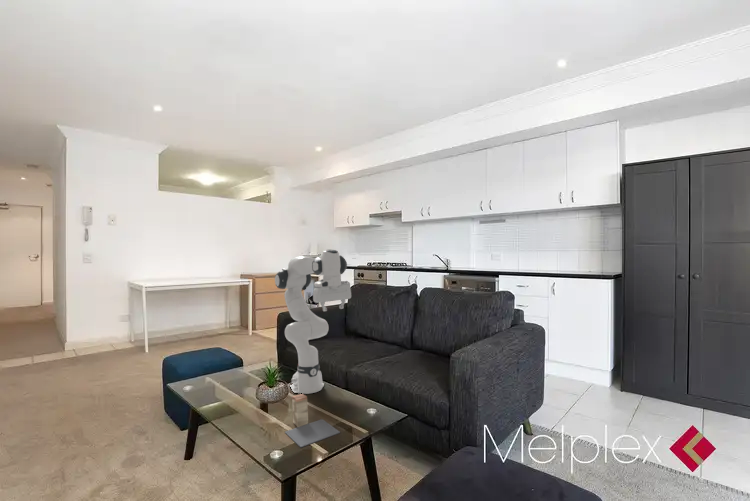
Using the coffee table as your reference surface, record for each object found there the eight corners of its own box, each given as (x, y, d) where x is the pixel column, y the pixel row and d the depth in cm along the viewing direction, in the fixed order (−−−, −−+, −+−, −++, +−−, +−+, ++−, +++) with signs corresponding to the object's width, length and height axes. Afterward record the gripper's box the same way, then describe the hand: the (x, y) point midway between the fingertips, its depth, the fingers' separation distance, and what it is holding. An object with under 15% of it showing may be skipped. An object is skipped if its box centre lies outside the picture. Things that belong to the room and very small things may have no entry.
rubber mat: (284, 432, 156) (284, 431, 156) (322, 419, 167) (322, 419, 167) (300, 447, 143) (300, 446, 143) (340, 432, 154) (340, 431, 154)
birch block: (293, 423, 165) (292, 396, 165) (303, 419, 168) (302, 393, 168) (297, 427, 161) (296, 399, 161) (308, 423, 164) (307, 396, 164)
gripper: (346, 280, 191) (347, 306, 191) (311, 283, 179) (312, 311, 179) (353, 280, 186) (354, 307, 186) (317, 284, 174) (318, 313, 174)
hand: (333, 309), depth 182 cm, fingers open, 8 cm apart
